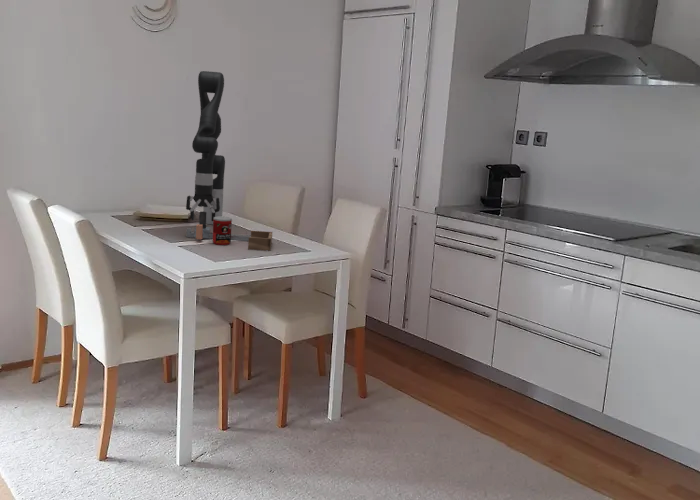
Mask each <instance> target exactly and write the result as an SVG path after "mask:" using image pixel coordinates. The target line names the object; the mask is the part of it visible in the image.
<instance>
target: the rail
mask: <svg viewBox="0 0 700 500" xmlns="http://www.w3.org/2000/svg"><path fill="white" fill-rule="evenodd" d="M194 232H195V231H192V227H187V228H186V234H185V237H186V238H194V239H196V237H194ZM249 237H251V234H250V235H249V234H235V233H234V234H233V233H231V241H238V242H239V241H242V242H248V241H249ZM207 239H211V240H213V232H210V233H209V238H206V240H207Z"/></svg>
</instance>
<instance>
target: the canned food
mask: <svg viewBox="0 0 700 500" xmlns="http://www.w3.org/2000/svg"><path fill="white" fill-rule="evenodd" d="M232 221H233V220H232V217H230V216H223V215H222V216H217V217H214V219H213V224H212V233H213V239H212V243H213V244H214V245H217V246H228V245H230V244H231V241H232V240H231V234H232Z"/></svg>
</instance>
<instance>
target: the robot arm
mask: <svg viewBox="0 0 700 500" xmlns="http://www.w3.org/2000/svg"><path fill="white" fill-rule="evenodd" d="M197 80H198V81H197V85H198V92H199V93H198V94H199V104H200V115H199V116H200V117H199V123H198V129H197V131H196V134H195V136H194V138H193V141H192V146H191V147H192V150H193V151H194V153H196V154H201V158H198V159H196V161H195V162H196V163H195V175H194V176H195V177H194V196H192V195H190V194H189V195H187V196H186V206H185V209H186V210H187V211H189V212H190V215H189V218H190V219H191V220H192V221H194V220H195V210H196V208H197V207H201V208H202V207H203V211H202V212H207V213H206V225H213V219H214V217H217V216H223V207H224V206H223V205H224V184H225V183H224V182H225V180H224V179H225V169H226V158H225V156H224V155H220V154H216V153H217V151H218V147H219V142H218V138H219V137H220V135H221V133H222V118H221V116H220V114H219V108H220V105H221V102H222V97H223V92H224V87H225V77H224V74H223V73H222V72H221V71H220V72H218V71H209V70H200V71H199V73H198V76H197ZM208 94H214V95H213V97H212V98H211V100H210V98H209V95H208ZM214 175H217V176H216V177H215V178H214ZM192 201H194V202H195V203H194V204H193V206H192V207H191V202H192Z"/></svg>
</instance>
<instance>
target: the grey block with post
mask: <svg viewBox="0 0 700 500" xmlns="http://www.w3.org/2000/svg"><path fill="white" fill-rule="evenodd" d="M206 213H207V212H203V211H199V215H198V216H199V217H198V224H196V226H195V227H194V231H193V232H194V237H196V238H195V240H203V239H207V238H209V233H211V227H210V226H207V224H206Z"/></svg>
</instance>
